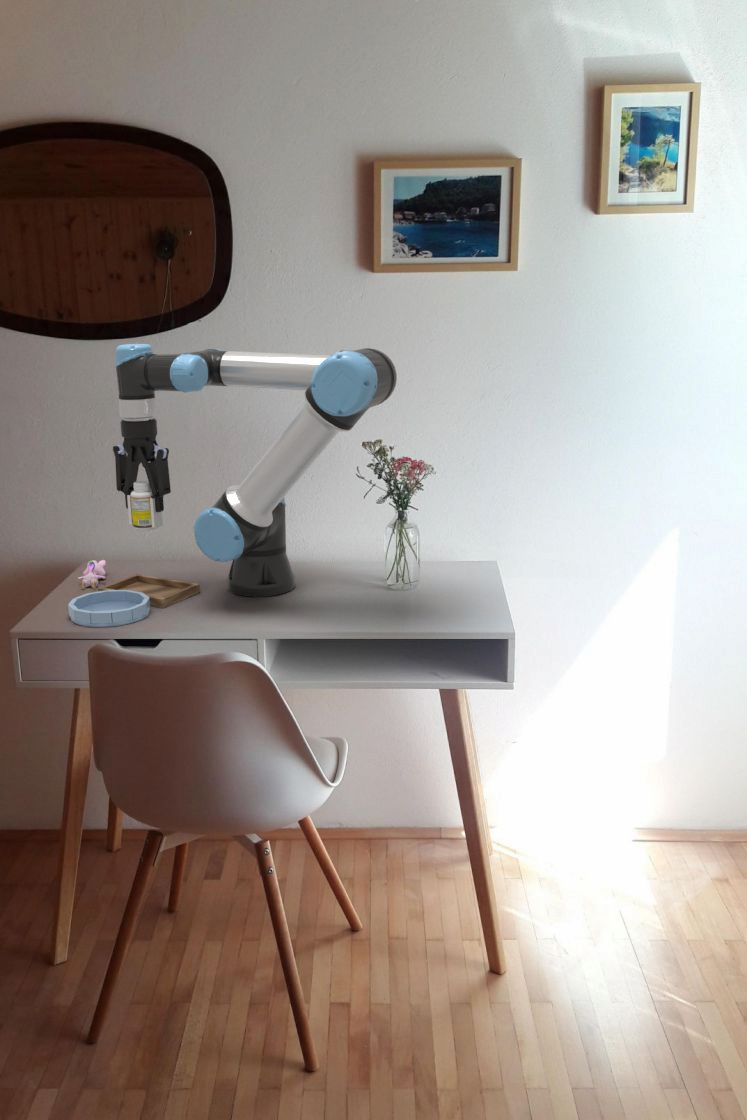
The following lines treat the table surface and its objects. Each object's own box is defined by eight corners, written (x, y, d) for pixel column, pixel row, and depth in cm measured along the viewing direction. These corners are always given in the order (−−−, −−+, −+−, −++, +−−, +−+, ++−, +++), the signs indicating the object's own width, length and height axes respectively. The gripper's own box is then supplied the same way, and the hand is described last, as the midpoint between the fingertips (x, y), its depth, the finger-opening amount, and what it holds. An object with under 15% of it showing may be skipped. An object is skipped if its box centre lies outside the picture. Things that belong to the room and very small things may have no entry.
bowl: (165, 609, 226) (164, 596, 225) (113, 631, 212) (112, 617, 211) (107, 599, 233) (106, 586, 232) (53, 620, 220) (52, 606, 219)
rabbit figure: (103, 595, 241) (113, 567, 255) (100, 571, 239) (110, 544, 252) (75, 596, 241) (86, 568, 254) (72, 572, 238) (83, 545, 252)
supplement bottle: (150, 524, 236) (147, 478, 233) (164, 528, 232) (161, 482, 230) (128, 528, 232) (124, 482, 230) (141, 532, 229) (138, 485, 226)
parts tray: (200, 592, 238) (199, 583, 237) (162, 608, 227) (162, 599, 226) (137, 582, 246) (136, 573, 245) (98, 597, 235) (97, 588, 234)
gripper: (184, 418, 225) (190, 525, 231) (116, 414, 234) (124, 517, 240) (161, 422, 219) (168, 532, 225) (92, 418, 227) (101, 524, 233)
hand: (145, 524), depth 232 cm, fingers closed on supplement bottle, 6 cm apart
